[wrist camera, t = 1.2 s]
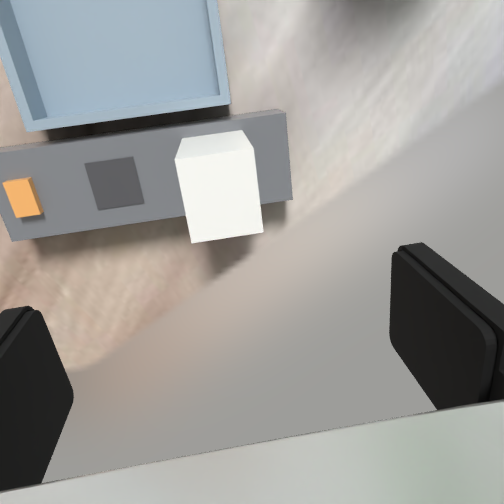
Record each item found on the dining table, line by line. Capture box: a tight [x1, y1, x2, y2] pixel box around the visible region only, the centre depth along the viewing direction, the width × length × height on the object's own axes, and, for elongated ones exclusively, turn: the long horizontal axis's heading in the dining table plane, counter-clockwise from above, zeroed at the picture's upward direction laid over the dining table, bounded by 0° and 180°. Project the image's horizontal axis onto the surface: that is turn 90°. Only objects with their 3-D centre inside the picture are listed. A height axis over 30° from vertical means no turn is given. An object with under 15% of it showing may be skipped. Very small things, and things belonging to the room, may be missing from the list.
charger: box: [175, 130, 263, 243], centre depth 25 cm, size 4×5×9 cm
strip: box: [0, 109, 293, 242], centre depth 28 cm, size 20×6×4 cm, turn 97°
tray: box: [0, 0, 231, 132], centre depth 24 cm, size 13×12×3 cm
